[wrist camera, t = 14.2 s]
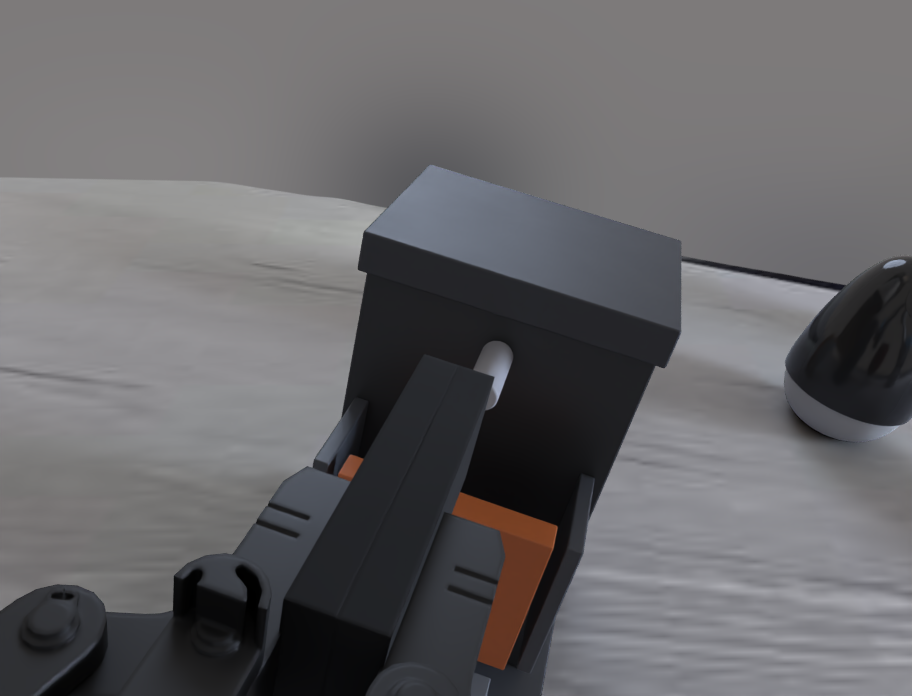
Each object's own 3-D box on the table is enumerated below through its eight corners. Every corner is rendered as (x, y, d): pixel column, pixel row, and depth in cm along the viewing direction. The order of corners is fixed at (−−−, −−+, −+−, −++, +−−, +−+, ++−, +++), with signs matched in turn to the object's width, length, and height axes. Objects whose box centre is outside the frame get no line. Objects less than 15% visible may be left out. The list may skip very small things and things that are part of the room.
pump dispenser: (787, 447, 60) (887, 277, 52) (752, 373, 69) (833, 217, 61) (911, 474, 61) (1028, 309, 53) (860, 397, 70) (954, 246, 62)
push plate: (503, 671, 31) (553, 548, 27) (314, 601, 31) (337, 473, 28) (509, 646, 32) (558, 525, 28) (325, 580, 32) (350, 453, 29)
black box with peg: (515, 814, 33) (706, 433, 22) (230, 704, 34) (273, 292, 23) (562, 560, 45) (697, 239, 34) (353, 487, 47) (419, 154, 36)
